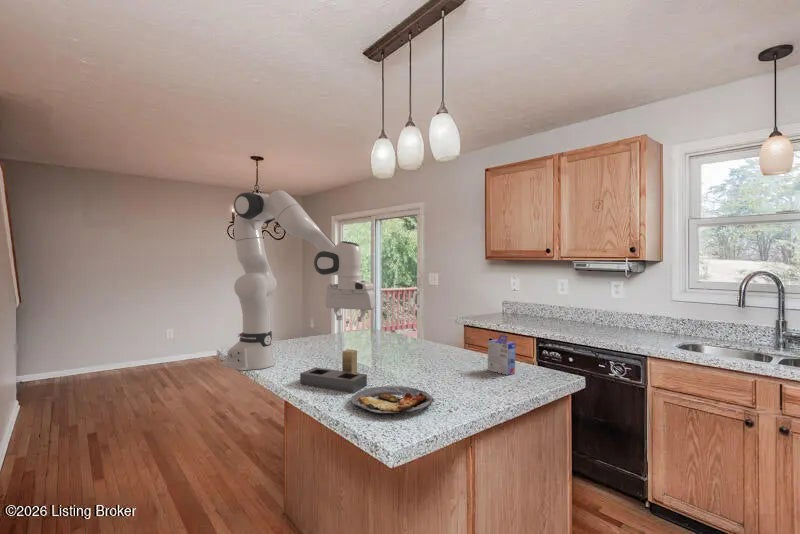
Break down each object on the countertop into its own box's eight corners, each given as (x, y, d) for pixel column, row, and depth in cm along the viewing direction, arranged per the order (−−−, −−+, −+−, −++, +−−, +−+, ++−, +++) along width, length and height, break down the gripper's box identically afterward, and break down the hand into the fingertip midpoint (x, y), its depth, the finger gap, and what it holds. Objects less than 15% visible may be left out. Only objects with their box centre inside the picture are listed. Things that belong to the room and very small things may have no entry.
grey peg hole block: (300, 384, 144) (300, 373, 144) (315, 377, 152) (315, 367, 152) (353, 393, 135) (353, 381, 135) (366, 385, 143) (366, 374, 143)
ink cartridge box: (516, 373, 160) (516, 336, 160) (508, 375, 156) (508, 338, 156) (495, 368, 167) (495, 333, 167) (487, 370, 164) (487, 334, 163)
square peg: (342, 377, 153) (342, 351, 152) (347, 375, 156) (348, 349, 156) (351, 379, 151) (351, 352, 151) (356, 376, 155) (357, 350, 154)
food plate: (448, 404, 124) (448, 393, 124) (393, 427, 108) (393, 414, 108) (392, 388, 142) (392, 378, 142) (337, 405, 126) (337, 394, 126)
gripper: (321, 284, 154) (322, 320, 155) (369, 285, 146) (369, 323, 146) (331, 283, 160) (331, 318, 160) (377, 284, 152) (377, 321, 152)
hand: (349, 320), depth 153 cm, fingers open, 8 cm apart
